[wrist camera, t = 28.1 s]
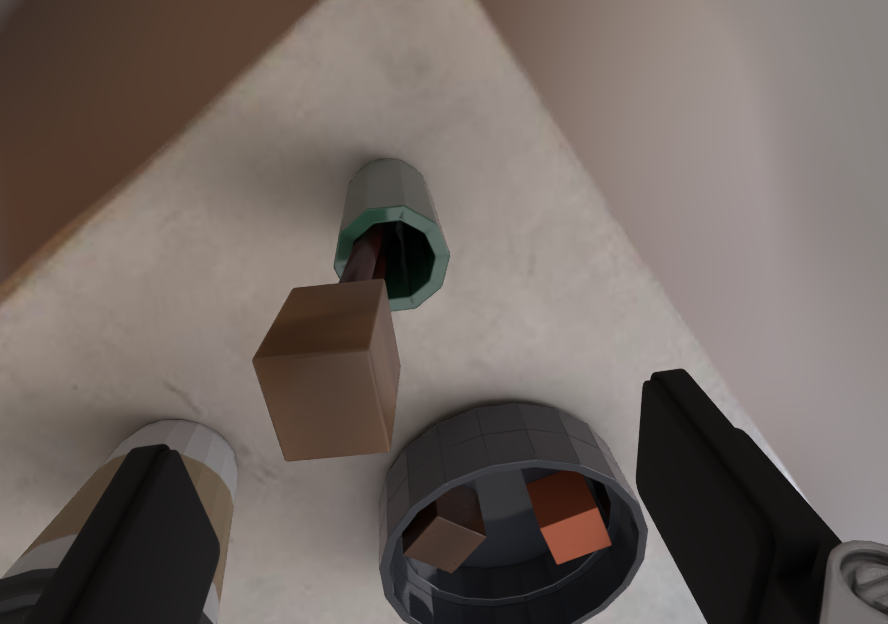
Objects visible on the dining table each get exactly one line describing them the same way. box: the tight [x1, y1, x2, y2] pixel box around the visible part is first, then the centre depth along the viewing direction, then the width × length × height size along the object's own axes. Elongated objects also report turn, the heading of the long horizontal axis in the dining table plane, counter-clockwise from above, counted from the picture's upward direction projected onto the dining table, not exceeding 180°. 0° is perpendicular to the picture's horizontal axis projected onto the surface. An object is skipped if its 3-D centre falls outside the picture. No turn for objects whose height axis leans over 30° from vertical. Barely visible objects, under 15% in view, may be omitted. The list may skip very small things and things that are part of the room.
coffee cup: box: [0, 419, 238, 624], centre depth 29 cm, size 11×11×15 cm
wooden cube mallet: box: [252, 221, 401, 461], centre depth 21 cm, size 3×3×18 cm
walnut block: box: [402, 485, 487, 573], centre depth 37 cm, size 4×4×4 cm
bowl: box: [379, 403, 648, 624], centre depth 37 cm, size 17×17×6 cm
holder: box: [334, 159, 450, 311], centre depth 25 cm, size 4×5×9 cm
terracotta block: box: [526, 470, 612, 565], centre depth 38 cm, size 4×4×4 cm
